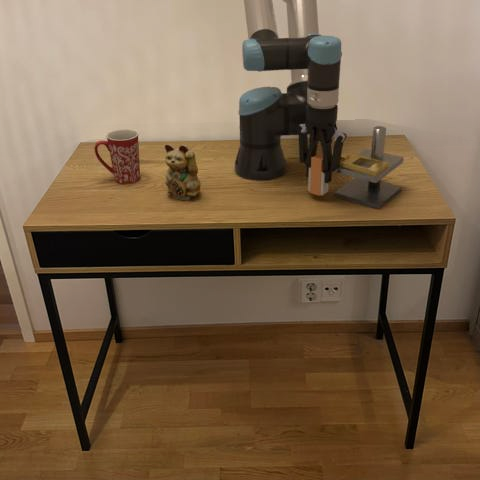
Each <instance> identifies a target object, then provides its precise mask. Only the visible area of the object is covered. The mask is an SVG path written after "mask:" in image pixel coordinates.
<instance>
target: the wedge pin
mask: <svg viewBox="0 0 480 480" xmlns="http://www.w3.org/2000/svg"><path fill="white" fill-rule="evenodd" d="M323 170H324V163H323V154H322V153H321V154H320V153H316V155H315V156H313V157H311V179H310V191H309V193H310V194H312V195H313V194H314V195H316V196H321V195H320V189H321V172H322V171H323Z"/></svg>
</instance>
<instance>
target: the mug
mask: <svg viewBox="0 0 480 480" xmlns="http://www.w3.org/2000/svg"><path fill="white" fill-rule="evenodd" d="M105 138H106V139H107V140H98V141H96V142H95V145H94V153H95V156H96V158H97V160H98V161H99V162H100V163H101V166H103V167H104V168H105V169H106V170H107V171H109V172H110V173H111V174H112V175H113V178H114V181H115V182H116V183H118V184H125V185H126V184H127V185H128V184H134V183H136V182H138V181H140V179H141V167H140V163H141V162H140V148H139V147H140V145H139V132H138V131H137V130H135V129H132V128H130V129H128V128H122V129H116V130H115V129H114V130H112V131H109V132H108V133H106V135H105ZM101 145H104V146H105V147H106V149H107V151H108V152H109V155H110V161H111V166H110V165H109V164H107V162H105V160H103V158H102V157H101V156H100V153H99V151H98V149H99V146H101Z"/></svg>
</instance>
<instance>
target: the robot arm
mask: <svg viewBox="0 0 480 480" xmlns="http://www.w3.org/2000/svg"><path fill="white" fill-rule="evenodd" d="M243 2H244V3H243V5H244V13H245V21H246V28H247V30H246V31H247V38H248V39H244V40H243V41H242V47H241V48H242V49H241V50H242V51H241V52H242V53H241V54H242V66H243V69H244V70H245V71H247V72H269V71H270V72H271V71H284V70H285V71H287V70H288V71H290V77H291V79H290V80H291V82H290V83H289V84H288V85H287V86H286V93H285V92H283V93H282V90H281V89H280V88H279V87H276V86H261V87H256V88H253V89H249V90H247V91H246V92H243V94H242V95H241V96H240V97H239V101H238V111H237V112H238V115H239V148H238V150H237V151H238V152H237V154H236V156H235V160H234V172H235V174H236V175H237V176H239V177H241V178H244V179H247V180H254V181H265V180H266V181H267V180H272V179H277V178H279V177H282V176H283V175H285V173H286V171H287V160H286V158H285V155H284V151H283V147H282V145H281V142H282V141H281V140H282V139H281V137H282V136H298V154H299V155H298V157H299V163H301V164H304V165H305V167H306V169H305V171H306V172H305V177H306V178H308V179H307V191H308V192H310V179H311V157H313V156H315V155H316V154H317V151H318V145H319V142H320V147H321V148H322V149H321V151H322V155H323V163H324V170H323V171H322V172H321V189H320V196H324V195H325V194H326V193H327V192H329V183H331V181H332V179H333V178H332V177H333V173H334V172H335V171H336V172H337V169H338V168H339V167H340V160H341V154H342V153H343V147H344V142H345V141H346V139H347V133H342V132H341V131H339V130H338V126H337V121H338V111H339V106H338V103H339V95H340V92H339V91H340V75H341V65H342V64H341V61H342V56H343V51H342V41H341V39H340V38H339V37H337V36H334V35H322V34H320V33H319V32H320V31H319V30H320V29H319V17H318V3H317V0H282V2H285V3H286V16H287V18H286V19H287V34H288V37H281V38H280V37H279V32H278V28H277V22H276V16H275V15H276V14H275V10H274V4H273V0H243ZM308 135H309V137H308ZM333 137H334V139H333ZM333 140H334V144H333V146H332V143H333ZM332 148H333V149H332ZM332 150H333V155H332Z"/></svg>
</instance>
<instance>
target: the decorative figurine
mask: <svg viewBox="0 0 480 480" xmlns="http://www.w3.org/2000/svg"><path fill="white" fill-rule="evenodd" d="M164 149H165V151H166V155H165V164H166V165H167V167H168V169H167V170H166V173H165V185H166V187H167V189H166V190H167V191H166V192H167V194H170V195H172V198H173V199H176V200H181V201H182V200H183V201H190V200H191V199H192V198H194V197H196V196H198V194H199V193H200V192H201V181H200V180H199V178H198V174H199V169H198V165H197V161H196V154H195V152H194V151H193V150H190V149H189V146H188V145H186V144H181V145H180V146H179V147H178V148H177V147H175V146H173V145H172V144H170V143H169V144H168V143H167V144H165V145H164Z"/></svg>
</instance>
